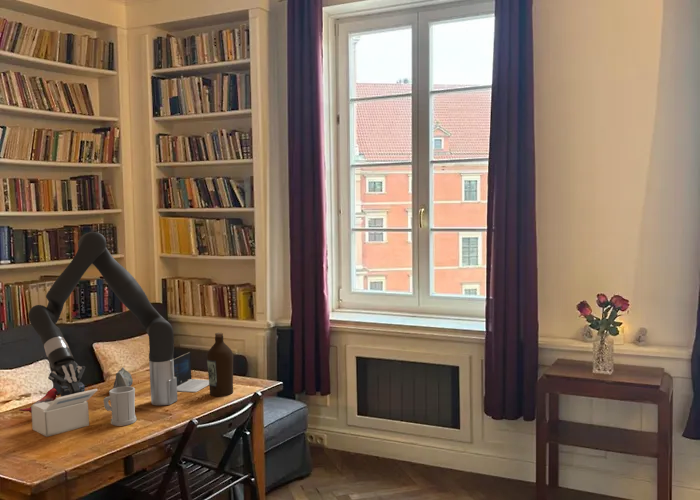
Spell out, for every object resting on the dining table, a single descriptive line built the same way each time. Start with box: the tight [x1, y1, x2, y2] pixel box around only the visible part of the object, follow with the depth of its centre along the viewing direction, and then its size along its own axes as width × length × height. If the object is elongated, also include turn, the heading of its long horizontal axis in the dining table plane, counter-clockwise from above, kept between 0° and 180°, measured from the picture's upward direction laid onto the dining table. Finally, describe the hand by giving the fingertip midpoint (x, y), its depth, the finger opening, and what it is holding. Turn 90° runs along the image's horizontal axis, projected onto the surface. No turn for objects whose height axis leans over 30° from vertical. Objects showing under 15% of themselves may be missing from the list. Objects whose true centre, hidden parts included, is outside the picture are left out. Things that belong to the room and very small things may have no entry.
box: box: [59, 381, 86, 397], centre depth 255 cm, size 8×6×11 cm
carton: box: [30, 400, 90, 438], centre depth 237 cm, size 12×15×9 cm
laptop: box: [173, 351, 209, 393], centre depth 287 cm, size 18×12×13 cm
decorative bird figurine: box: [18, 387, 59, 413], centre depth 247 cm, size 3×18×10 cm, turn 156°
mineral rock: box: [112, 367, 134, 389], centre depth 285 cm, size 13×11×10 cm
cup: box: [103, 386, 137, 427], centre depth 240 cm, size 10×9×12 cm
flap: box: [47, 388, 98, 410], centre depth 229 cm, size 1×14×10 cm
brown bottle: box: [206, 332, 234, 397], centre depth 274 cm, size 11×11×25 cm
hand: (76, 393), depth 227 cm, fingers closed
